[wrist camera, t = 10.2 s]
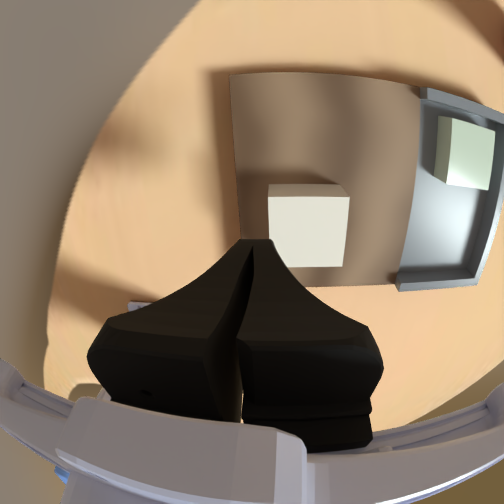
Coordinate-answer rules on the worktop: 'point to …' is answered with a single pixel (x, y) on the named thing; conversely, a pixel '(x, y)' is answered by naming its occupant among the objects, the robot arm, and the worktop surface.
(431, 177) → the slate tray
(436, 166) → the sage tile
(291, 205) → the cream tile
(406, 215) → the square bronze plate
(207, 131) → the worktop surface
